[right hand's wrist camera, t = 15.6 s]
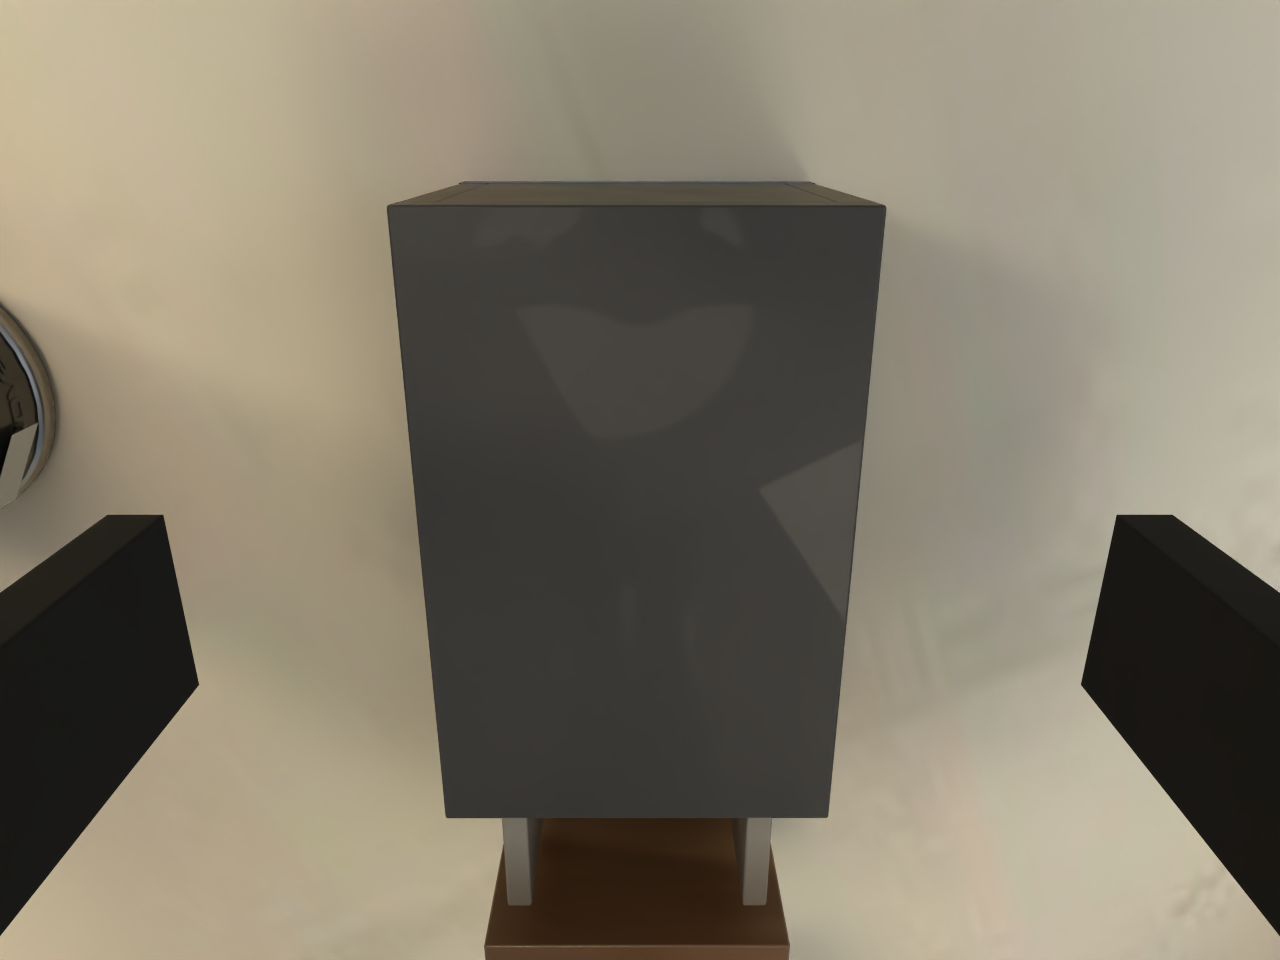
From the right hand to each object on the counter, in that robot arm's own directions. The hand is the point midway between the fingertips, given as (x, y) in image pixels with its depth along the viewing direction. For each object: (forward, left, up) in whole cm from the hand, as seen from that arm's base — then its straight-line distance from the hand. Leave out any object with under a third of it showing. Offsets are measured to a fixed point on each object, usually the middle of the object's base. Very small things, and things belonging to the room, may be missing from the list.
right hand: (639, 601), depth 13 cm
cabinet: (+2, -4, -20) cm, 20 cm away
